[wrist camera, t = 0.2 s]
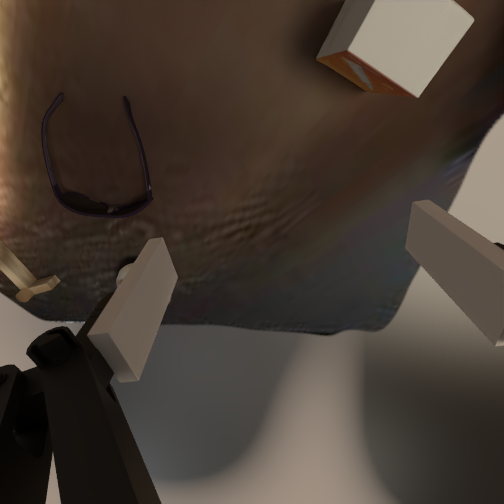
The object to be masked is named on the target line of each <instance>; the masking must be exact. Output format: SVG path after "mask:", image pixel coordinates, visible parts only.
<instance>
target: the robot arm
mask: <svg viewBox="0 0 504 504" xmlns="http://www.w3.org/2000/svg"><path fill="white" fill-rule="evenodd" d="M405 248H406V250H407V251H408V252H409V253H410V254H411V255H412V256H413V257H414V258H415V259H416V261H417V262H418V263H419V264H420V265H421V266H422V267H423V268H424V269H425V270H426V271H427V272H428V274H429V275H430V276H431V277H432V278H433V279H434V280H435V281H436V282H437V283H438V284H439V286H440V287H441V288H442V289H443V290H444V291H445V292H446V293H447V294H448V296H449V297H450V298H451V299H452V300H453V301H454V302H455V303H456V304H457V305H458V306H459V308H461V310H462V311H463V312H464V313H465V314H466V315H467V316H468V317H469V318H470V319H471V321H472V322H473V323H474V324H475V325H476V326H477V327H478V328H479V329H480V330H481V332H483V334H484V335H485V336H486V337H487V338H488V339H489V340H490V341H491V342H492V344H493V345H494V346H503V345H504V245H502V244H500V243H492V242H491V241H489V240H487V239H486V238H485V237H483V236H482V235H480V234H479V233H477V232H476V231H474V230H473V229H471V228H470V227H468V226H467V225H465V224H464V223H462V222H461V221H459V220H458V219H456V218H455V217H453V216H452V215H450V214H449V213H448V212H446V211H445V210H443V209H442V208H440V207H439V206H437V205H436V204H434V203H433V202H431V201H430V200H423V201H416V202H413V203H412V209H411V216H410V222H409V228H408V234H407V240H406V246H405ZM177 278H178V277H177V274H176V271H175V269H174V266H173V263H172V261H171V258H170V255H169V253H168V250H167V248H166V245H165V242H164V240H163V237H162V238H155V239H149V241H148V242H147V244H146V245H145V247H144V248H143V250H142V251H141V253H140V254H139V256H138V257H137V259H136V261H135V262H134V264H133V265H132V267H131V268H130V270H129V271H128V273H127V274H126V276H125V277H124V279H123V281H122V282H121V284H120V285H119V287H118V288H117V290H116V291H115V292H110V293H109V294H107V295H106V296H105V297H104V298H103V299H102V300H100V302H99V303H98V305H97V306H96V308H95V309H94V310H95V311H93V312H92V313H91V315H90V316H89V317H90V318H88V319H87V321H86V322H85V324H84V325H83V326H82V328H81V329H80V331H79V332H78V334H77V335H76V337H75V336H74V334H73V333H72V332H71V330H70V329H69V328H68V327H64V326H61V327H56V328H53V329H51V330H48V331H46V332H45V333H43V334H42V335H40V336H38V337H37V338H36V339H35V340H34V341H33V342H32V343H31V344H30V346H29V347H28V349H27V352H26V354H27V355H28V356H29V357H30V358H31V359H32V361H33V362H34V363H35V364H36V365H37V367H35V368H32V369H29V370H26V371H23V372H21V370H19V368H17V367H16V366H15V365H5V366H2V367H0V504H45V502H46V496H47V489H48V481H49V475H50V468H51V461H52V453H53V454H54V461H55V467H56V473H57V479H58V487H59V493H60V499H61V504H161V501H160V499H159V497H158V494H157V492H156V489H155V487H154V485H153V482H152V480H151V478H150V475H149V473H148V470H147V468H146V466H145V463H144V461H143V458H142V456H141V454H140V451H139V449H138V446H137V444H136V442H135V439H134V437H133V435H132V432H131V430H130V427H129V425H128V423H127V420H126V418H125V416H124V413H123V411H122V408H121V406H120V404H119V401H118V399H117V396H116V394H115V392H114V390H113V387H112V386H111V385H110V380H111V378H112V376H113V374H114V375H115V376H116V377H117V379H118V380H119V382H121V383H122V382H130V381H139V379H140V376H141V373H142V370H143V368H144V365H145V363H146V360H147V357H148V355H149V352H150V349H151V347H152V344H153V341H154V339H155V336H156V333H157V331H158V328H159V326H160V323H161V320H162V318H163V315H164V313H165V310H166V307H167V305H168V302H169V299H170V297H171V294H172V291H173V289H174V286H175V284H176V281H177Z"/></svg>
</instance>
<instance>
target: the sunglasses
mask: <svg viewBox="0 0 504 504" xmlns="http://www.w3.org/2000/svg"><path fill="white" fill-rule="evenodd" d="M62 101H63V93H60V94H59V95H58V97H57V98H56V99H55V101H54V102H53V104H52V105H51V106H50V108H49V109H48V111H47V112H46V114H45V116H44V119H43V122H42V130H41V135H42V147H43V153H44V159H45V163H46V167H47V171H48V175H49V179H50V182H51V186H52V189H53V192H54V194H55V196H56V198H57V199H58V201H59V203H60V204H61V205H63V206H64V207H65V208H67V209H69V210H70V211H72V212H75V213H78V214H81V215H85V216H92V217H107V218H124V217H129V216H132V215H134V214H136V213H138V212H140V211H141V210H142V209H144V208H145V207H146V206H147V205H148V204H149V203H150V202H151V201H152V200H153V197H152V192H151V185H150V178H149V172H148V167H147V162H146V157H145V153H144V149H143V146H142V142H141V139H140V137H139V134H138V131H137V129H136V126H135V123H134V121H133V117H132V113H131V108H130V103H129V101H128V100H127V98H126V96H124V97H123V101H124V105H125V109H126V112H127V115H128V118H129V120H130V123H131V126H132V128H133V131H134V134H135V137H136V140H137V142H138V145H139V149H140V153H141V157H142V162H143V168H144V173H145V179H146V189H147V195H148V199H146V200H144V201H141V202H138V203H134V204H131V205H126V206H121V207H116V208H115V209H114V210H113V212H111V213H107V212H108V210H109V206H108V205H106V204H105V203H103V202H100V203H97V202H94V201H92V200H89V199H90V198H89V197H87V196H84V195H81V194H77V193H73V192H67V193H64V194H62V193H61V191H60V189H59V187H58V184H57V181H56V177H55V174H54V171H53V167H52V164H51V160H50V155H49V151H48V146H47V137H46V130H47V122H48V119H49V117H50V115H51V114H52V112H53V111H54V110H55V109H56V107H57V106H58V105H59V104H60V103H61V102H62Z"/></svg>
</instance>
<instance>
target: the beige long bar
mask: <svg viewBox="0 0 504 504" xmlns="http://www.w3.org/2000/svg"><path fill="white" fill-rule="evenodd" d="M0 269H1V270H2V271H3V272H4V273H5V274H6V275H7V276H8V277H9V278H10V279H11V280H12V282H13V283H14V284H15V285H16V286H17V287H18V288H19V289H20V290H21V291H20V292H19V293H18V294H16V298H17V300H19V301H21V302H27V301H28V300H29V299H30V298H31V297H32V296H33V295H34V294H38V293H41V292H45V291H48V290H52V289H53V288H54V287H55V286H56V285H57V284H58V283H59V282H60V280H59V279H58V278H57V276H56V275H53V276H49V277H46V278H42V279H39V280H37V279H36V278H35V277H34V276H33V275H32V274H31V273H30V272H29V270H28V269H27V268H26V267H25V266H24V265H23V264H22V263H21V262H20V261H19V260H18V259H17V257H16V256H15V255H14V254H13V253H12V252H11V251H10V250H9V249H8V248H7V247H6V246H5V245H4V243H3V242H2V241H1V240H0Z"/></svg>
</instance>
